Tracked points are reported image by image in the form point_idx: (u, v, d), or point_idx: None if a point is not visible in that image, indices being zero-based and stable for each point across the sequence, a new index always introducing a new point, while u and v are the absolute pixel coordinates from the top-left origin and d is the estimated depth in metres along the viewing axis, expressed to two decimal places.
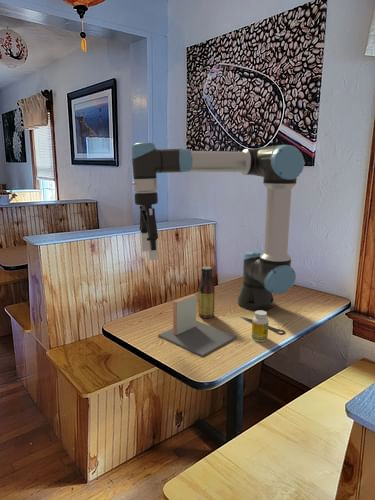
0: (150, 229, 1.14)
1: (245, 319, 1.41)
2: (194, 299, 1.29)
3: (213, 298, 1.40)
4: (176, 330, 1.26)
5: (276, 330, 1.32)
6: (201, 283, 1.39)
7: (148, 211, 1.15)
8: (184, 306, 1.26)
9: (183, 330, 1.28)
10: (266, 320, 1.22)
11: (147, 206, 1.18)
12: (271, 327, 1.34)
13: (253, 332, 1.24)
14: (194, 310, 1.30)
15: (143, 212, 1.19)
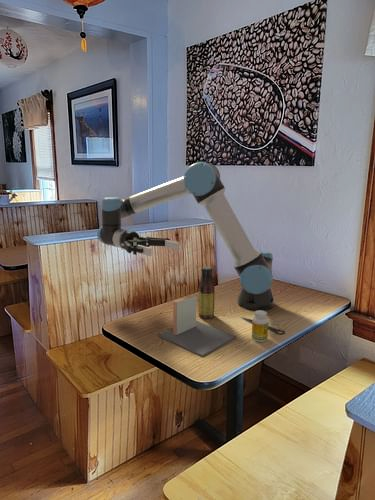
0: (126, 250, 1.31)
1: (245, 319, 1.40)
2: (194, 299, 1.29)
3: (213, 298, 1.40)
4: (176, 330, 1.26)
5: (276, 330, 1.31)
6: (201, 283, 1.39)
7: (122, 246, 1.36)
8: (184, 306, 1.26)
9: (183, 330, 1.28)
10: (266, 320, 1.22)
11: None
12: (271, 327, 1.34)
13: (253, 332, 1.24)
14: (194, 310, 1.30)
15: None
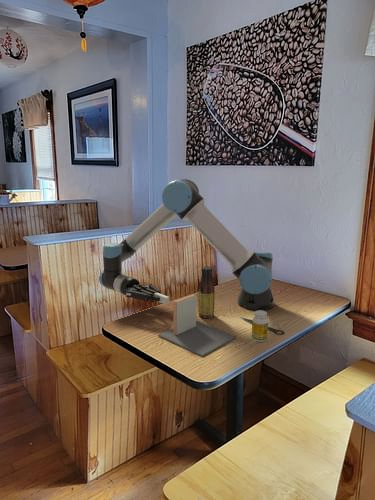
0: (140, 298, 1.37)
1: (244, 319, 1.40)
2: (194, 299, 1.29)
3: (213, 298, 1.40)
4: (176, 330, 1.26)
5: (275, 330, 1.31)
6: (201, 283, 1.39)
7: (127, 296, 1.40)
8: (184, 306, 1.26)
9: (183, 330, 1.28)
10: (266, 320, 1.22)
11: None
12: (270, 327, 1.34)
13: (253, 332, 1.24)
14: (194, 310, 1.30)
15: None
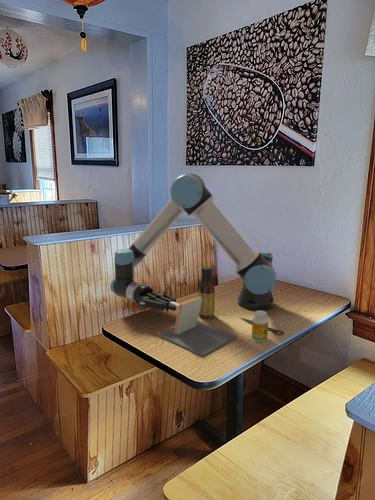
0: (155, 308, 1.31)
1: (243, 320, 1.40)
2: (199, 302, 1.28)
3: (213, 298, 1.40)
4: (177, 330, 1.25)
5: (275, 331, 1.31)
6: (201, 283, 1.39)
7: (141, 305, 1.34)
8: (189, 309, 1.25)
9: (183, 330, 1.28)
10: (266, 320, 1.22)
11: (140, 300, 1.38)
12: (270, 328, 1.33)
13: (253, 332, 1.24)
14: (197, 312, 1.29)
15: None
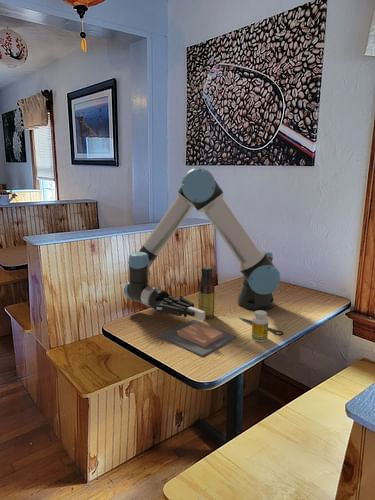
0: (173, 313, 1.26)
1: (243, 320, 1.40)
2: None
3: (213, 298, 1.40)
4: (180, 336, 1.24)
5: (274, 331, 1.31)
6: (201, 283, 1.39)
7: (158, 310, 1.29)
8: None
9: None
10: (266, 320, 1.22)
11: (156, 305, 1.33)
12: (269, 328, 1.33)
13: (253, 332, 1.24)
14: None
15: None
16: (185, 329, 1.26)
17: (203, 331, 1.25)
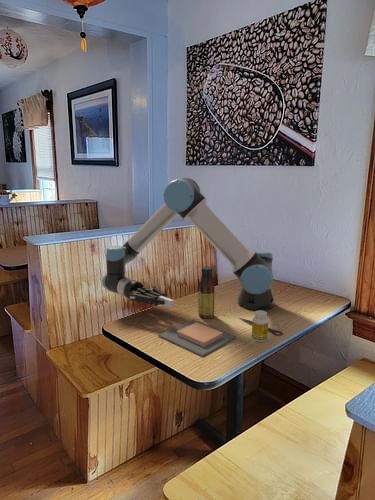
0: (145, 302, 1.36)
1: (243, 320, 1.40)
2: None
3: (213, 298, 1.40)
4: (180, 336, 1.24)
5: (274, 331, 1.31)
6: (201, 283, 1.39)
7: (131, 299, 1.38)
8: None
9: None
10: (266, 320, 1.22)
11: (130, 294, 1.42)
12: (269, 328, 1.33)
13: (253, 332, 1.24)
14: None
15: None
16: (185, 329, 1.26)
17: (203, 331, 1.25)
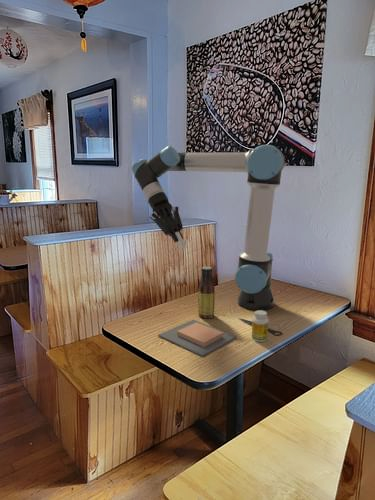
0: (161, 229, 1.42)
1: (242, 320, 1.39)
2: None
3: (213, 298, 1.40)
4: (180, 336, 1.24)
5: (273, 331, 1.30)
6: (201, 283, 1.39)
7: (151, 218, 1.41)
8: None
9: None
10: (266, 320, 1.22)
11: (152, 208, 1.43)
12: (268, 328, 1.33)
13: (253, 332, 1.24)
14: None
15: None
16: (185, 329, 1.26)
17: (203, 331, 1.25)
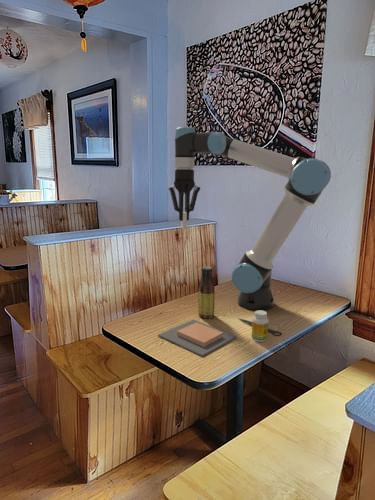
0: (173, 203, 1.46)
1: (242, 320, 1.39)
2: None
3: (213, 298, 1.40)
4: (180, 336, 1.24)
5: (273, 332, 1.30)
6: (201, 283, 1.39)
7: (169, 189, 1.44)
8: None
9: None
10: (266, 320, 1.22)
11: None
12: (268, 329, 1.33)
13: (253, 332, 1.24)
14: None
15: None
16: (185, 329, 1.26)
17: (203, 331, 1.25)
